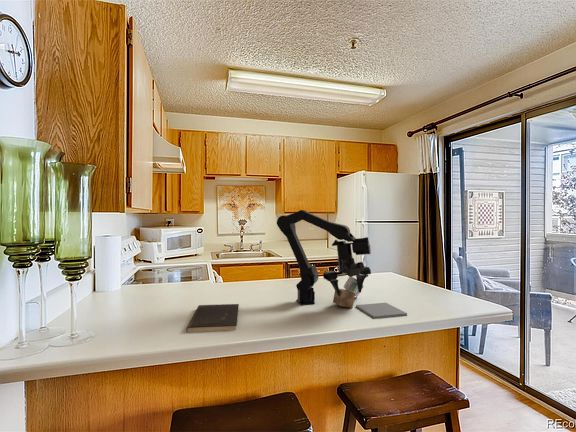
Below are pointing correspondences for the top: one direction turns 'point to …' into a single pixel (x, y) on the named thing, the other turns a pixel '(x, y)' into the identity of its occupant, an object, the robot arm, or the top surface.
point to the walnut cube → (344, 298)
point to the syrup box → (352, 286)
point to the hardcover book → (214, 318)
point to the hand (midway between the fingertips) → (349, 294)
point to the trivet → (381, 310)
